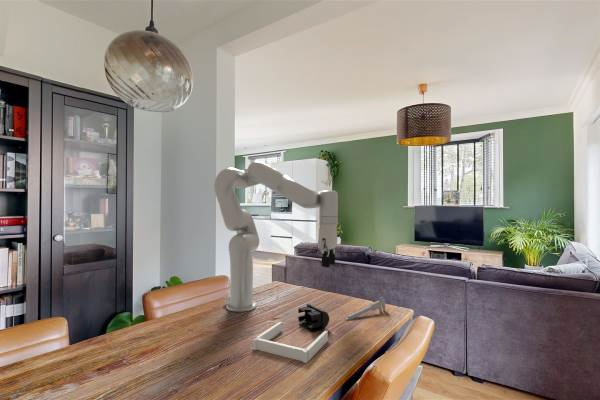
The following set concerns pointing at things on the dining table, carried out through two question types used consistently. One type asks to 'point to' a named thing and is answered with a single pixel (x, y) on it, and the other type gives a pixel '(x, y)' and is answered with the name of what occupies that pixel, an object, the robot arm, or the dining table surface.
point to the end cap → (313, 318)
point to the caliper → (371, 307)
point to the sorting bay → (287, 350)
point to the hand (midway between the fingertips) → (328, 265)
